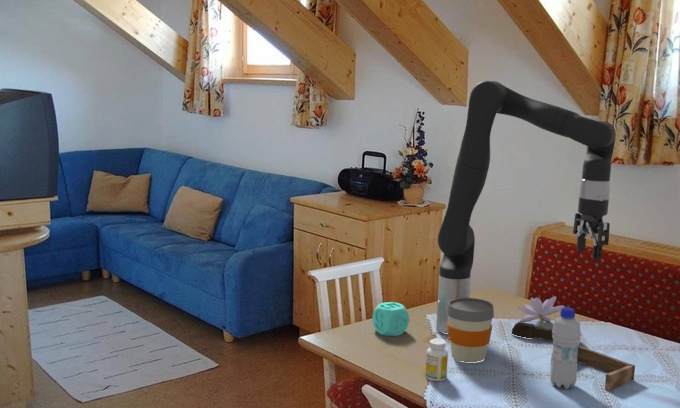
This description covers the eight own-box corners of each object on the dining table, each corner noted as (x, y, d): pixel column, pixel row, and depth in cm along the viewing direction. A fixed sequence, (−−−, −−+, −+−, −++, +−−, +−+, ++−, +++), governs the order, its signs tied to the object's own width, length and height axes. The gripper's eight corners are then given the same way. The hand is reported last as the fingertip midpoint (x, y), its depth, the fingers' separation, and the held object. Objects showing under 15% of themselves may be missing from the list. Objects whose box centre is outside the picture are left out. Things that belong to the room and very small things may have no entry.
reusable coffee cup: (462, 345, 200) (465, 294, 197) (500, 357, 191) (503, 305, 188) (435, 356, 191) (437, 303, 188) (473, 370, 182) (476, 315, 180)
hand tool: (578, 341, 204) (580, 326, 204) (578, 346, 201) (579, 331, 200) (512, 333, 211) (513, 318, 210) (511, 338, 207) (512, 323, 206)
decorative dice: (409, 333, 209) (409, 307, 208) (388, 338, 204) (388, 312, 203) (392, 325, 215) (393, 300, 214) (371, 330, 211) (372, 304, 210)
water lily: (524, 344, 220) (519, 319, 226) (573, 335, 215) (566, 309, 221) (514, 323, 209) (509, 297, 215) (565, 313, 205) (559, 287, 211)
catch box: (608, 391, 171) (609, 375, 170) (550, 368, 184) (551, 353, 184) (633, 380, 177) (635, 365, 177) (576, 358, 191) (577, 345, 190)
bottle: (544, 379, 177) (549, 304, 173) (570, 379, 177) (575, 303, 174) (554, 391, 170) (560, 312, 167) (581, 390, 171) (587, 312, 167)
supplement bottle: (427, 382, 174) (429, 345, 173) (423, 373, 180) (424, 337, 178) (449, 381, 175) (450, 345, 173) (443, 372, 180) (445, 337, 179)
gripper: (568, 192, 193) (563, 249, 195) (594, 201, 179) (589, 262, 182) (593, 192, 194) (587, 248, 197) (621, 201, 180) (615, 262, 183)
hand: (588, 255), depth 189 cm, fingers open, 8 cm apart
